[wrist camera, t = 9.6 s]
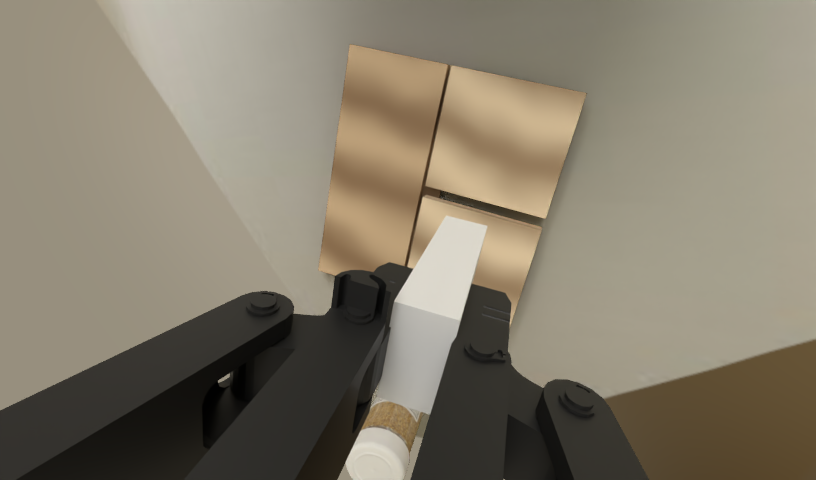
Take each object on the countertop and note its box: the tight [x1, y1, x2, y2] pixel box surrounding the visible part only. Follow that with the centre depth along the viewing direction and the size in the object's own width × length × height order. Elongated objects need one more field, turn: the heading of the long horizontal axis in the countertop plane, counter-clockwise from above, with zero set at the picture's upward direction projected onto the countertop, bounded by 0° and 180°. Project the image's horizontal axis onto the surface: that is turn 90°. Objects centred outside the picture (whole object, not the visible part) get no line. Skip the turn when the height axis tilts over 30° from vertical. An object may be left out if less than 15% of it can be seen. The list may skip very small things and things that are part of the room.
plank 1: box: [425, 66, 587, 219], centre depth 34 cm, size 10×10×1 cm
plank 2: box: [408, 195, 542, 329], centre depth 38 cm, size 10×10×1 cm
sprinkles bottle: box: [346, 397, 424, 480], centre depth 38 cm, size 5×5×13 cm
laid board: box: [318, 44, 451, 276], centre depth 38 cm, size 20×10×2 cm, turn 168°
